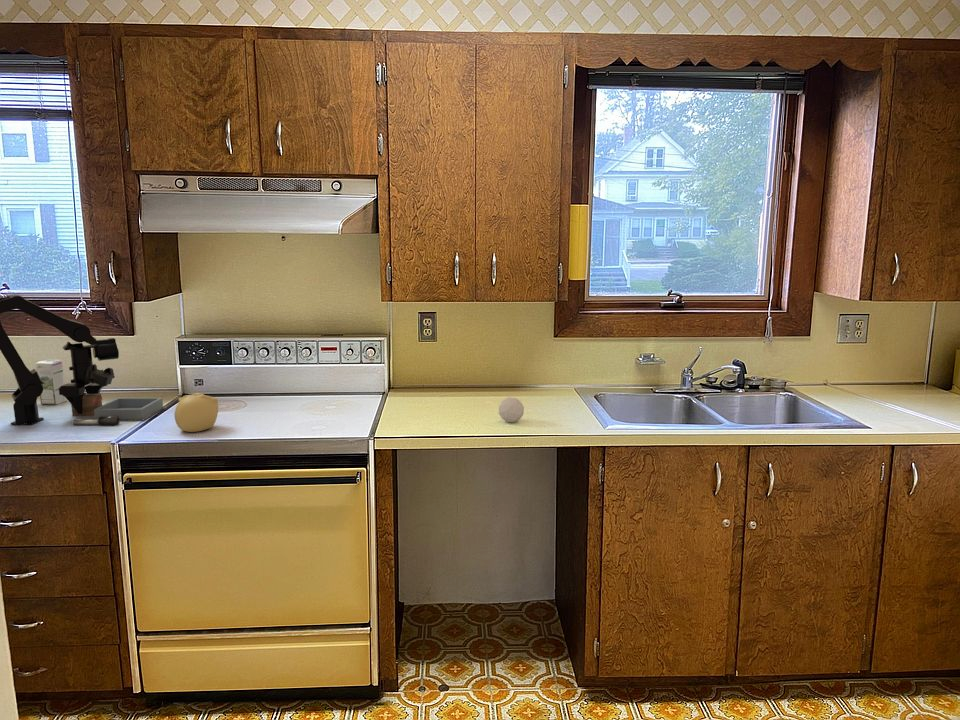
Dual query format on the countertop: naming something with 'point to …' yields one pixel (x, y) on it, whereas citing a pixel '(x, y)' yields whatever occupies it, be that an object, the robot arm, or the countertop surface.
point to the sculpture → (196, 412)
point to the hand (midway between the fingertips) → (87, 410)
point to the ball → (511, 409)
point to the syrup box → (51, 381)
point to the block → (89, 405)
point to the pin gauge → (99, 421)
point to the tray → (130, 408)
